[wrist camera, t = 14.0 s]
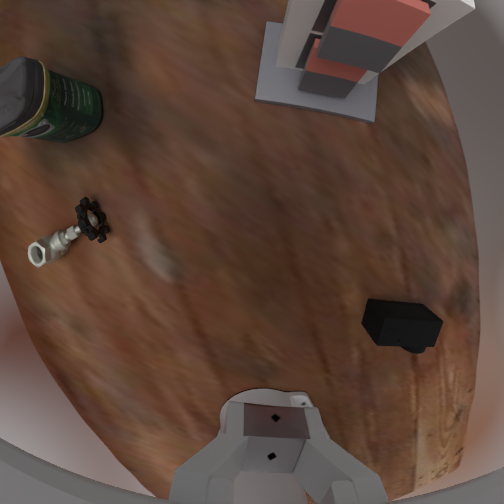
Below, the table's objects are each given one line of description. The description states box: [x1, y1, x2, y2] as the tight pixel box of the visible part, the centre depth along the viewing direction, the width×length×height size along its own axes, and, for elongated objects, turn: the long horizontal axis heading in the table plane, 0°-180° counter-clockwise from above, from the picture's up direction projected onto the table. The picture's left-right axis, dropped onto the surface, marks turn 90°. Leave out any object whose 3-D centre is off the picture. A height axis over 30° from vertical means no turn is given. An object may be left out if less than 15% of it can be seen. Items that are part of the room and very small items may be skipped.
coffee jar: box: [0, 57, 102, 143], centre depth 29 cm, size 10×8×19 cm
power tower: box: [255, 0, 475, 124], centre depth 24 cm, size 12×16×27 cm
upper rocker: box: [317, 0, 431, 73], centre depth 19 cm, size 1×6×10 cm, turn 83°
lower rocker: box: [298, 38, 367, 99], centre depth 30 cm, size 1×6×10 cm, turn 83°
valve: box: [28, 197, 110, 267], centre depth 39 cm, size 7×7×12 cm
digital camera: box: [362, 299, 443, 353], centre depth 42 cm, size 10×5×7 cm, turn 82°
